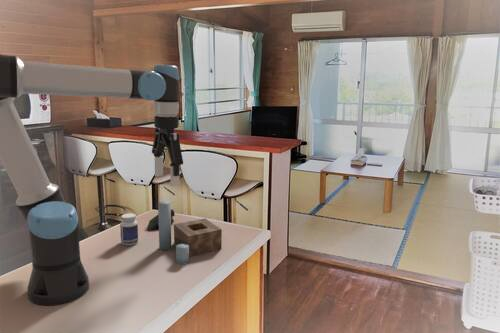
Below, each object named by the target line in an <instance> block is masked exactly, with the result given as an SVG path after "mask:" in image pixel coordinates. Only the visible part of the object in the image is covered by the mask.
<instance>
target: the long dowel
mask: <svg viewBox="0 0 500 333" xmlns="http://www.w3.org/2000/svg"><path fill="white" fill-rule="evenodd" d="M171 203H172V202H171V201H170V200H160V201H158V203H157V210H158V213H157V215H158V217H159V226H158V247H159V250H160V251H170V250H172V224H171V210H172V209H171V205H172V204H171Z"/></svg>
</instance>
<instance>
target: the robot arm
mask: <svg viewBox="0 0 500 333" xmlns="http://www.w3.org/2000/svg"><path fill="white" fill-rule="evenodd" d="M179 88H180V73H179V68H178V66H176V65H172V64H171V65H170V64H169V65H167V64H155V65H154V67H153V70H135V69H133V70H132V69H123V68H111V67H110V68H109V67H98V66H86V65H85V66H84V65H75V64H65V63H64V64H63V63H49V62H37V61H35V62H34V61H25V60H22V59H20V57H19V56H17V55H8V54H2V53H1V54H0V161H1V163H2V165H3V167H4V169H5V171H6V173H7V176H8V177H9V179H10V181H11V183H12V185H13V187H14V189H15V190H16V193H17V195H18V196H17V199H16V200H15V204H16V206H17V209H18V210H19V212H20V215H21V217H22V219H23V220H24V222H25V224H26V228H27V232H28V233H27V234H28V237H29V245H30V246H29V247H30V255H31V262H32V270H31V273H30V277H29V281H28V285H27V298H28V300H29V301H30V302H31V303H33V304H36V305H40V306H56V305H62V304H66V303H70V302H72V301H74V300H76V299H78V298H80V297H82V296H83V295H85V294H86V293H87V292H88V291H89V288H90V280H89V279H90V278H89V275H88V274H87V272H86V269H85V267H84V264H83V263H82V260H81V252H80V251H81V249H80V247H81V246H80V237H79V236H80V235H79V225H78V224H79V216H78V213H77V209H76V207H75V206H74V205H72V204H71V203H69V202H66V200H65V198H64V195H63V193H62V191H61V190H60V187H59V185H58V184H55V183H52V182H50V179H49V178H48V175H47V173H46V170H45V168H44V166H43V164H42V162H41V160H40V158H39V155H38V153H37V150H36V149H35V147H34V145H33V143H32V141H31V139H30V136H29V134H28V132H27V130H26V128H25V126H24V123H23V121H22V119H21V117H20V115H19V113H18V110H17V109H16V105H15V103H14V101H15V100H16V98H20V97H21V96H22V95H25V94H26V95H27V94H29V95H49V96H71V97H73V96H74V97H91V98H95V97H96V98H115V99H131V100H133V99H134V100H136V99H137V100H146V101H153V114H154V115H155V116H154V120H153V121H154V127H155V130H154V137H153V138H154V139H153V142H152V143H153V144H152V149H151V154H153V156H154V177H162V176H164V156H165V155H164V150H165V148H166V149H167V152H168V156H169V159H170V164H169V167H170V172H169V173H170V182H169V183H170V187H177V186H180V182H181V181H180V176H181V175H180V172H181V171H180V170H181V168H180V166H181V165H184V159H183V155H182V149H181V144H180V134H179V133H178V132H175V129H178V128H179V125H180V124H179V122H180V121H179V120H180V118H179V115H178V114H179V111H180V110H179V108H180V104H179V101H180V100H179V99H180V98H179V94H180V93H179V90H180V89H179Z"/></svg>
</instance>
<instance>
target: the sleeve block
mask: <svg viewBox="0 0 500 333" xmlns="http://www.w3.org/2000/svg"><path fill="white" fill-rule="evenodd" d="M222 234H223V233H222V228H220V226H217V225H216V224H215V223H213V222H212V221H210V220H208V219H207V218H206V217H205V218H201V219H195V220H194V219H193V220H189V221H184V222H180V223H175V224H173V243H174V245H175V246H177V245H179V244H187V245H189V257H193V256H198V255H201V254H205V253H209V252H210V253H211V252H215V251H217V250H221V249H222V246H223V244H222V242H223V241H222V238H223V237H222V236H223V235H222Z"/></svg>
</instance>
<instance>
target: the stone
mask: <svg viewBox="0 0 500 333" xmlns="http://www.w3.org/2000/svg"><path fill="white" fill-rule="evenodd" d="M175 215H176V214H175V211H174V209H171V225H172V224H173V223H174V222H175V220H174V218H173V217H175ZM147 228H148V231H153V230H155V229H156V228H159V217H158V214H157V215H155V216H154V217H153V218H151V219H150V220H149V222H148V224H147Z"/></svg>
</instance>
